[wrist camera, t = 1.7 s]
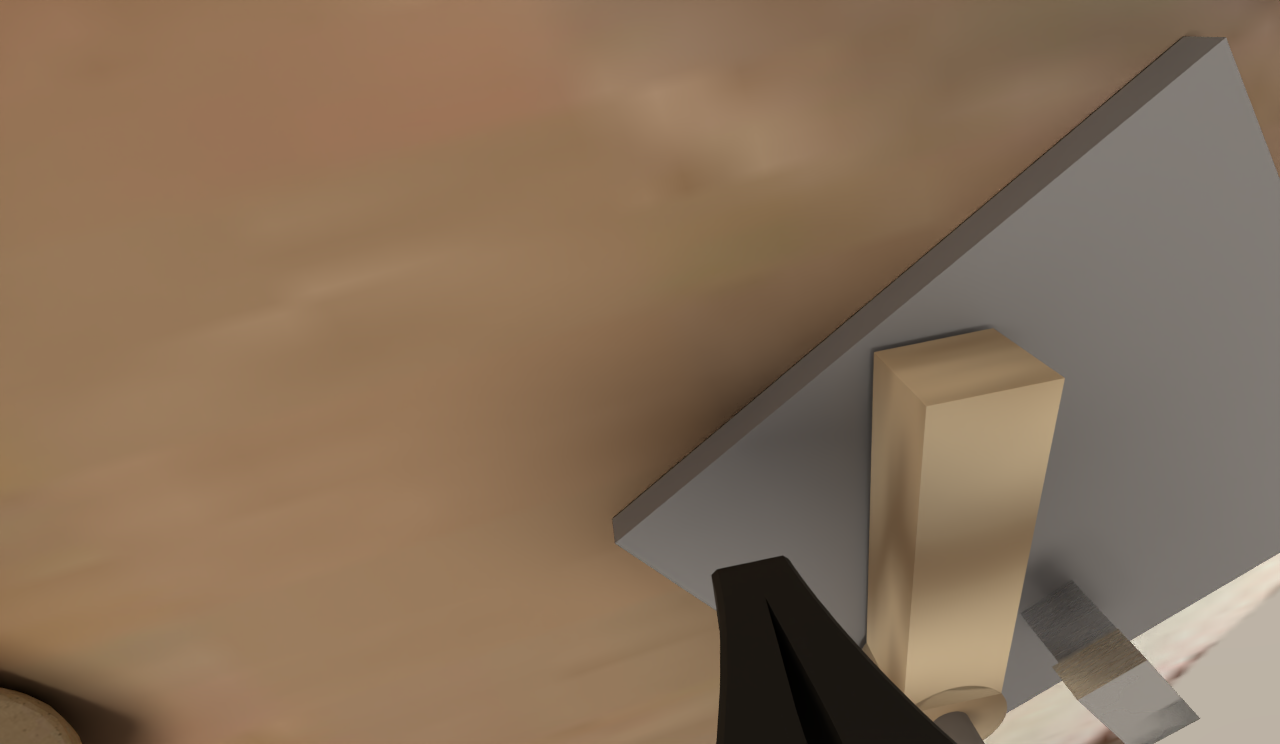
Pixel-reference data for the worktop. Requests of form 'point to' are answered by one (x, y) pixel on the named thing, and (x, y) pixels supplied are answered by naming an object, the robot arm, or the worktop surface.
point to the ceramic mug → (32, 721)
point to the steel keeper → (1106, 669)
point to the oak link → (954, 518)
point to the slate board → (1070, 345)
